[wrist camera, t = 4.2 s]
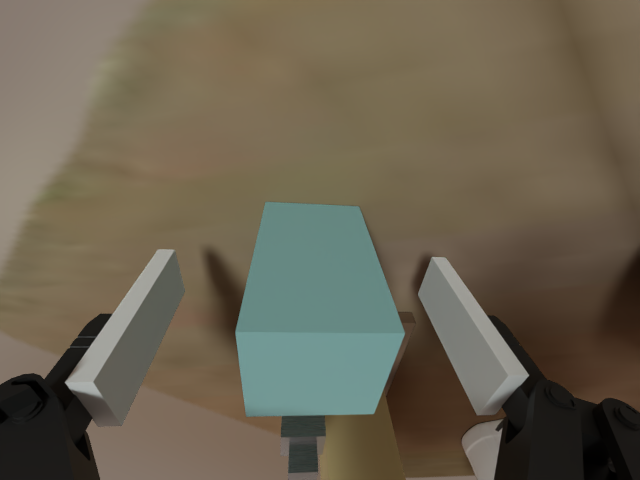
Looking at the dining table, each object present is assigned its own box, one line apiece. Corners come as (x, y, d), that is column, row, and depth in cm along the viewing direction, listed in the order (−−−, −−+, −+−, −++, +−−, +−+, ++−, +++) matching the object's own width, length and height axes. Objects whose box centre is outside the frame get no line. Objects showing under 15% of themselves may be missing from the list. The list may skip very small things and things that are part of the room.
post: (285, 345, 21) (279, 469, 15) (320, 346, 21) (328, 468, 15) (285, 366, 22) (279, 487, 16) (317, 365, 23) (323, 485, 17)
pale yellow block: (322, 382, 24) (331, 521, 17) (381, 381, 25) (414, 517, 17) (317, 412, 27) (323, 541, 20) (371, 411, 27) (395, 537, 20)
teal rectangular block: (265, 201, 15) (235, 332, 8) (358, 206, 16) (405, 333, 9) (267, 274, 18) (246, 416, 11) (346, 276, 19) (373, 414, 12)
